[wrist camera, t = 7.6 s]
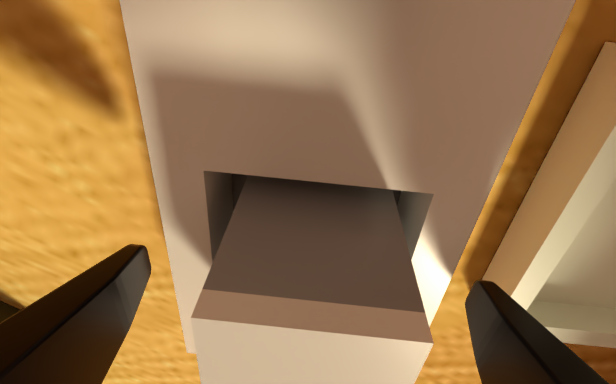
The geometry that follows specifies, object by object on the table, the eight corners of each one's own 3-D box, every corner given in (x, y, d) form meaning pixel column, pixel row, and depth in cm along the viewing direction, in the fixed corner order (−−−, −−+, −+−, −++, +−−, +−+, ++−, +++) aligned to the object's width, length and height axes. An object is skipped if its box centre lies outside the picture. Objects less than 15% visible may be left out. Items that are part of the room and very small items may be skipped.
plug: (363, 259, 13) (382, 446, 8) (256, 248, 13) (207, 428, 8) (386, 166, 11) (433, 343, 6) (257, 152, 11) (190, 317, 6)
